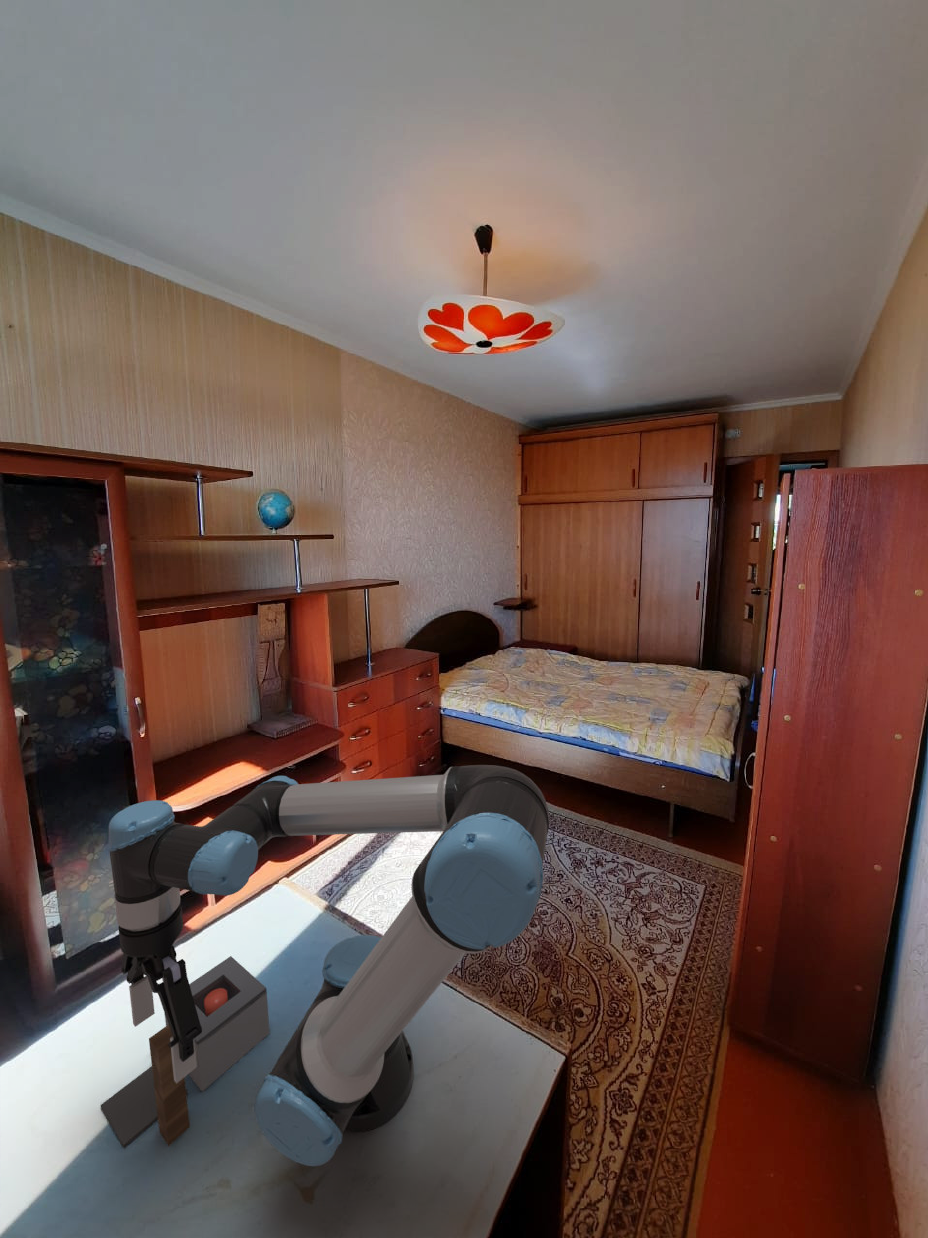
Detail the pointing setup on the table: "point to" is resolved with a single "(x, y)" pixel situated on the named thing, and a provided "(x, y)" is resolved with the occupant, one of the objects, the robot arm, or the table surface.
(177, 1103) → the wooden stick
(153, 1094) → the mat
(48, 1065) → the table surface
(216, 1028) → the grey box with opening
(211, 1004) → the red ball
